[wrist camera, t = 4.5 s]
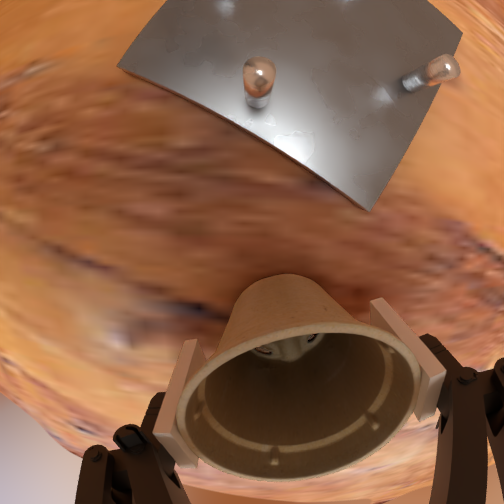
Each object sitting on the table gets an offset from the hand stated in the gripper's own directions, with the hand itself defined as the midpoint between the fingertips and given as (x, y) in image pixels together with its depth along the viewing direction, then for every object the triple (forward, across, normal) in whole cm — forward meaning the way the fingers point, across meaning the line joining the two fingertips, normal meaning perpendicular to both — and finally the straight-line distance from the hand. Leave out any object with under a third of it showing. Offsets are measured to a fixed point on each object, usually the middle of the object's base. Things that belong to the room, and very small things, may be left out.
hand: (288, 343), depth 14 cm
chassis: (+3, +6, +17) cm, 18 cm away
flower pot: (+3, 0, 0) cm, 3 cm away
